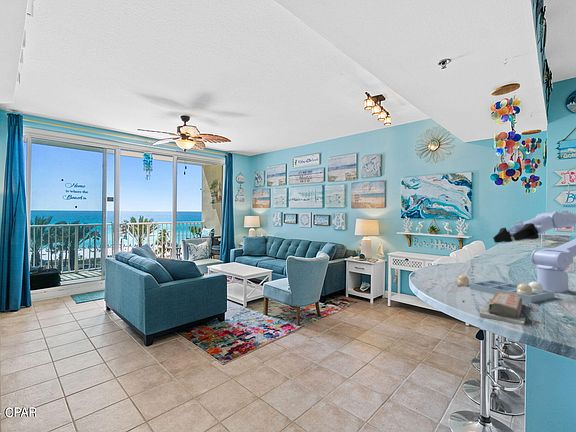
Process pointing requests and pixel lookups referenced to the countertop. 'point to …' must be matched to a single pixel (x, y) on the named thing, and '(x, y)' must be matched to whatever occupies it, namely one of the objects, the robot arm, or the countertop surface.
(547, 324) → the countertop surface
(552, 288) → the robot arm
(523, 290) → the seated egg
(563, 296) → the countertop surface
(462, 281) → the loose egg
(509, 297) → the packaged product
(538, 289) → the seated egg
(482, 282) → the egg carton
